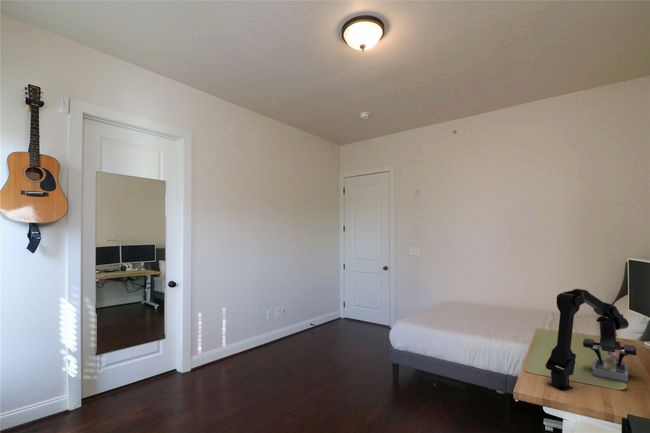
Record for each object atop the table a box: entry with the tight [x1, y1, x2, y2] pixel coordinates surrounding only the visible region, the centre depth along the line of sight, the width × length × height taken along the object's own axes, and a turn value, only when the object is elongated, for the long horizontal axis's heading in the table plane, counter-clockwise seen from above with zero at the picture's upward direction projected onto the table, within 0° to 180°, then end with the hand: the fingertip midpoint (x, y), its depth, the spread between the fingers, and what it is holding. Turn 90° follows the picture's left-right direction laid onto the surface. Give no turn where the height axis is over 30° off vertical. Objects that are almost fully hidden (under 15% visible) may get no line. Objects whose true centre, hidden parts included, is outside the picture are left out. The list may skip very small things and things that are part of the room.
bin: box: [592, 358, 629, 384], centre depth 155 cm, size 15×12×4 cm
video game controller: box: [606, 350, 627, 364], centre depth 168 cm, size 10×5×7 cm, turn 151°
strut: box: [603, 356, 617, 372], centre depth 155 cm, size 4×12×5 cm, turn 138°
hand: (610, 365), depth 155 cm, fingers open, 6 cm apart
